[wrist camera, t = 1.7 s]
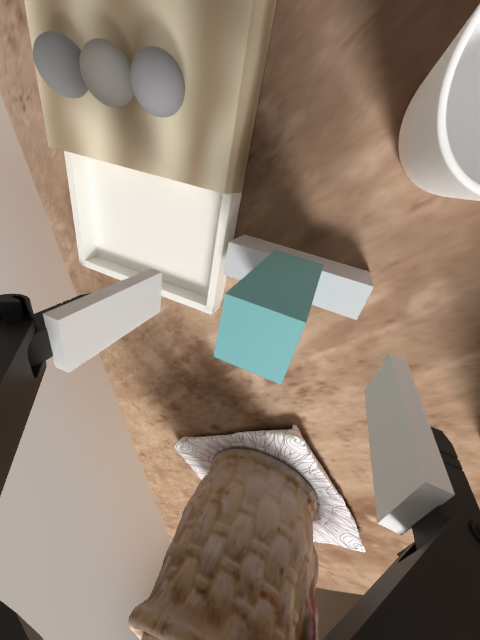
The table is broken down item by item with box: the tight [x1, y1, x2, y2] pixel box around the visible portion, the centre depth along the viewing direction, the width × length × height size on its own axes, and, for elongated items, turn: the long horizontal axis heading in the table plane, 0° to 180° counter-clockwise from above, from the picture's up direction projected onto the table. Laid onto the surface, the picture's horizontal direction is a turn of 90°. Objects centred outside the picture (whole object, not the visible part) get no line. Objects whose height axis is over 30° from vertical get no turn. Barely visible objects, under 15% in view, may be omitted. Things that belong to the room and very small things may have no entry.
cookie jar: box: [129, 425, 366, 640], centre depth 29 cm, size 25×25×32 cm
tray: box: [64, 151, 242, 315], centre depth 27 cm, size 18×12×2 cm, turn 78°
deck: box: [24, 0, 277, 194], centre depth 20 cm, size 18×14×4 cm
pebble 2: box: [130, 46, 185, 118], centre depth 17 cm, size 3×3×3 cm
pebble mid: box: [79, 38, 134, 108], centre depth 17 cm, size 3×3×3 cm
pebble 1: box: [33, 31, 88, 98], centre depth 18 cm, size 3×3×3 cm
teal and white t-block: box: [214, 234, 374, 385], centre depth 19 cm, size 12×4×14 cm, turn 78°
